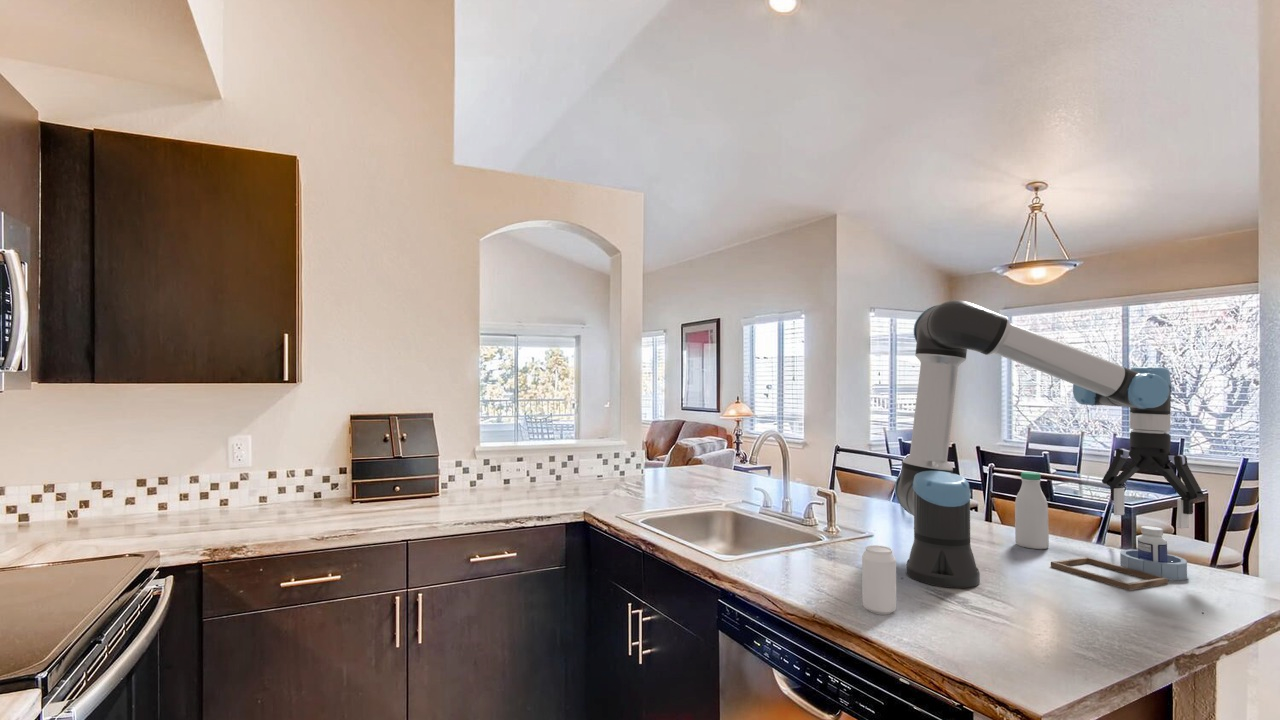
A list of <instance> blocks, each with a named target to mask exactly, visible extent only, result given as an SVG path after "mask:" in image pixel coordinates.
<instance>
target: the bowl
mask: <svg viewBox="0 0 1280 720" xmlns="http://www.w3.org/2000/svg"><path fill="white" fill-rule="evenodd" d="M1119 557H1120V566H1122V567H1126V568H1130V569H1134V570H1137V571H1141V572H1145V573H1149V574H1152V575H1156V576H1160V577H1164V578H1167V581H1183V580H1188V562H1187V559H1186V558H1183V557H1180V556H1178V555H1174V554H1169V553H1167V563H1162V562H1154V561H1147V560H1142V559H1138V549H1132V548H1130V549H1124V550H1120V556H1119ZM1171 561H1173V562H1171Z"/></svg>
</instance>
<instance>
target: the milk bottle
mask: <svg viewBox="0 0 1280 720" xmlns="http://www.w3.org/2000/svg"><path fill="white" fill-rule="evenodd" d="M1041 477H1042V475H1041V473H1039V472H1033V471H1022V472H1020V478H1021V479H1020V480H1021V486H1020V489H1019V491H1018V492H1017V494H1016V497H1015V502H1014V530H1015V531H1014V535H1015V538H1014V539H1015V544H1016V545H1017V546H1019V547H1023V548H1027V549H1031V550H1032V549H1033V550H1047V549H1048V548H1049V544H1050V541H1049V539H1050V534H1049V532H1050V531H1049V506H1048V505H1049V504H1048V501H1047V498H1046V496H1045V494H1044V492H1043V491H1042V487H1041V480H1042V478H1041Z"/></svg>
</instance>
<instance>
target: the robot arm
mask: <svg viewBox="0 0 1280 720" xmlns="http://www.w3.org/2000/svg"><path fill="white" fill-rule="evenodd" d="M913 337H914V339H915V341H916V346H915V357H916V358H917V359H918V360H919V362H920V366H919V367H920V368H919V377H918V384H917V391H916V392H917V393H916V401H915V410H914V417H913V425H912V426H913V427H912V433H911V435H912V436H911V442H910V443H911V444H910V450H909V455H908V456H907V457H905V458H903V460H902V462H901V471H900V474H899V475H898V476H897V478H896V480H895V484H894V494H895V497H896V499H897V501H898V504H900V507H902V508H903V510H904V511H906V513H908V514H909V515H912V516H913V543H912V547H911V549H910V553H909V558H908V559H907V561H906V565H905V567H906V569H905V570H906V571H905V572H906V575H907V576H908V577H910V578H911V579H912V580H915V581H918V582H920V583H924V584H928V585H932V586H937V587H943V588H953V589H954V588H955V589H957V588H958V589H960V588H961V589H962V588H963V589H965V588H973V587H977V586H978V585H979V584H981V583H980V582H981V576H980V575H981V573H980V571H979V568H978V567H977V564H976V560H975V557H974V553H973V550H972V546H971V497H972V495H971V490H970V483H969V481H968V480H967V479H966V478H965V477H963V476H962V475H959V474H957V473H953V471H954V469H953V467H952V466H951V465H950V464H949V462H948V455H949V446H950V439H951V430H952V422H953V413H954V405H955V404H954V403H955V398H956V397H955V396H956V387H957V379H958V371H959V366H960V365H961V364H963V363H964V362H965V361H966V360H967V352H968V350H970V351H975V352H977V353H981V354H983V355H985V356H990V355H992V354H995V355H998V356H1000V357H1003V358H1005V359H1008V360H1011V361H1013V362H1016V363H1018V364H1021V365H1023V366H1026V367H1028V368H1031V369H1034V370H1037V371H1039V372H1041V373H1044V374H1047V375H1049V376H1051V377H1055V378H1056V379H1060V380H1061V381H1063V382H1064V381H1065V382H1067V383H1070V384H1072V394H1073V398H1074V400H1075V401H1076V402H1077V403H1078V404H1079V405H1086V406H1092V407H1094V406H1105V407H1121V408H1122V407H1124V408H1129V429H1130V430H1132V431H1130V433H1129V446H1130V450H1128V449H1127V448H1117V449H1116V450H1115V455H1114V459H1113V460H1112V462H1111V464H1110V466H1109V467H1108V469H1107V471H1106V472H1105V474H1104V476H1103V477H1102V480H1101V482H1102V484H1103V485H1107V486H1109V487H1110V500H1111V501H1113V515H1114V516H1125V496H1126V495H1125V492H1126V491H1125V488H1123V485H1124V484H1125V483H1126V482H1127V481H1129V480H1130V479H1131V478H1132V477H1133V476H1134V474H1136V473H1137V472H1138V471H1149V472H1154V473H1156V472H1157V473H1159V475H1161V476H1163V478H1164V479H1165V480H1166V481H1167V482H1168V483H1169V485H1170V486H1171V487H1172V489H1173V490H1174V491H1175V492H1176V493H1177V495H1179V497H1181V498H1177V499H1176V500H1177V506H1176V508H1177V516H1176V517H1177V521H1176V522H1177V529H1190V515H1193V513H1194V501H1195V500H1196V499H1203V498H1205V494H1204V492H1203V490H1202V489H1201V487H1200V485H1199V483H1198V481H1197V479H1196V478H1195V476H1194V474H1193V472H1192V471H1191V469H1190V467H1189V465H1188V457H1187V456H1186V455H1184V454H1177V455H1172V454H1171V451H1170V450H1171V448H1172V447H1171V442H1172V437H1171V436H1172V435H1171V434H1170V433H1168V432H1171V428H1172V427H1171V424H1172V423H1171V421H1172V418H1171V415H1172V414H1171V411H1172V410H1171V405H1172V404H1171V403H1172V402H1171V401H1172V399H1171V398H1172V396H1171V394H1172V392H1171V391H1172V390H1171V389H1172V387H1173V386H1172V380H1171V379H1172V378H1171V372H1170V370H1169V369H1168V368H1166V367H1159V366H1158V367H1154V366H1153V367H1152V366H1151V367H1150V366H1149V367H1148V366H1143V367H1142V366H1137V367H1136V366H1135V367H1132V368H1127V367H1124V366H1121V365H1120V364H1118V363H1114V362H1111V361H1109V360H1107V359H1104V358H1101V357H1098V356H1095V355H1094V354H1091V353H1088V352H1087V351H1083V350H1081V349H1078V348H1076V347H1073V346H1070V345H1069V344H1064V343H1063V342H1060V341H1058V340H1055V339H1052V338H1049V337H1047V336H1044V335H1042V334H1040V333H1037V332H1034V331H1032V330H1029V329H1026V328H1024V327H1021V326H1018V325H1016V324H1013V323H1011V322H1010V320H1009V318H1008V316H1005V315H1003V314H1000V313H998V312H996V311H993V310H990V309H988V308H985V307H983V306H980V305H979V304H975V303H972V302H969V301H966V300H962V299H961V300H960V299H959V300H957V299H954V300H947V301H945V302H942V303H941V304H937V305H933V306H931V307H929V308H927V309H925V310H924V311H923V312H922V313H921V314H920V315H919V316H918V317H917V319H916V320H915V323H914V325H913ZM1129 458H1130V459H1131V461H1130V462H1129V463H1128V465H1126V467H1125V468H1124V469H1123V470H1122V468H1123V467H1124V464H1125V463H1126V461H1127V459H1129ZM1170 463H1172V464H1173V465H1174V466H1175V467H1174V468H1175V469H1176V471H1177V473H1178V475H1179V477H1178V475H1177V474H1176V473H1175V470H1174V469H1173V468H1172V466H1171V465H1170ZM1121 470H1122V471H1121Z"/></svg>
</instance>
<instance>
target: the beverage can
mask: <svg viewBox="0 0 1280 720" xmlns="http://www.w3.org/2000/svg"><path fill="white" fill-rule="evenodd" d="M861 558H862V559H861V564H862V565H861V568H862V569H861V572H862V573H861V578H862V580H861V582H862V583H861V584H862V587H861V589H862V590H861V591H862V593H861V594H862V597H861V598H862V605H863V606H862V607H864V608H865V609H866V610H868V612H870V613H872V614H876V615H883V616H884V615H889V614H892V612H895V611H896V610H897V559H896V557H895V555H894V553H893V549H892V548H891V547H888V546H883V545H873V544H872V545H866V546H865V550H864V552H863V554H862V556H861Z"/></svg>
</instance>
